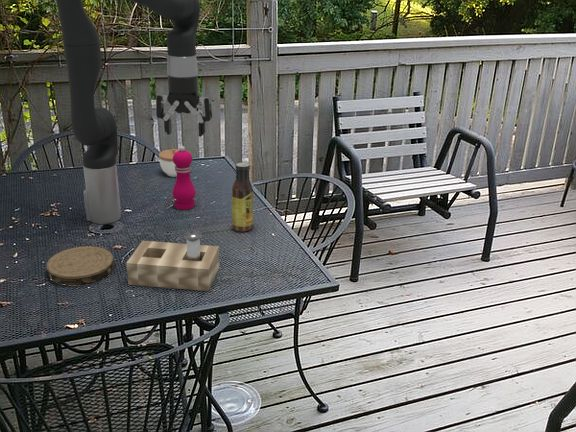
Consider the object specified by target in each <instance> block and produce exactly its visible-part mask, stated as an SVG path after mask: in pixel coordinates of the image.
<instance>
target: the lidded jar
mask: <svg viewBox="0 0 576 432" xmlns="http://www.w3.org/2000/svg"><path fill="white" fill-rule="evenodd" d="M177 151H180V150H179V148H172V149H165V150H162V151H160V152H159V153H158V158H159V164H160V165H159V166H160V168H161V170H162V172H163V173H165V174H166V176H168V177H172V178H177V173H176V171H175V166H176V165H175V164H174V163H173V155H174V154H175V153H176V152H177Z"/></svg>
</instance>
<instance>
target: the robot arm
mask: <svg viewBox="0 0 576 432" xmlns="http://www.w3.org/2000/svg"><path fill="white" fill-rule="evenodd" d="M55 1H56V7H57V10H58V18H59V23H60V28H61V35H62V44H63V51H64V57H65V63H66V69H67V78H68V86H69V94H70V95H69V96H70V97H69V98H70V114H71V115H70V118H71V126H72V127H71V128H72V133H73V134H74V137H75V139H76V140H77V141H78V142H79V143H80V144H81V145H83V146H88V148H87V150H86V151H85V152H84V153H83V155H82V160H81V161H82V168H83V175H84V181H85V182H84V183H85V189H84V190H83V192H82V193H83V199H84V208H85V209H84V210H85V217H86V221H87V222H88V221H89V222H91V223H94V224H98V225H105V224H112V223H114V222H117V221H119V220H120V219H122V209H121V199H120V189H119V187H120V186H119V181H118V180H119V179H118V167H117V156H118V153H119V151H118V150H119V148H118V147H119V145H118V126H117V123H116V122H117V121H116V119H115V116H114V115H113V113H112V112H111V110H109V109H107V108H106V107H102V106H100V107H96V105H95V92H96V87H97V83H98V79H99V76H100V73H101V69H102V62H103V61H102V52H101V51H102V50H101V41H100V38H99V34H98V32H97V31H98V30H97V29H96V27H95V25H94V24H93V22H92V20H91V19H90V17H89V16H88V14H87V12H86V10H85V7H84V5H83V2H82V0H55ZM129 1H130V2H132V3H135V4H137V5H140V6H141V7H144V8H149V10H151V11H153V12H154V13H155V14H157V15H159V16H160V17H161V18H162V17H163V18H164V19H166V20H169V21H173V28H172V29H171V30H169V31H168V33H167V35H166V45H167V46H166V49H167V60H166V61H167V63H166V66H167V67H166V68H167V72H166V73H167V84H168V85H167V87H168V91H167V92H168V94H167V95H166V94H164V93H159V94H158V95H157V96H156V102H155V103H156V111H155V113H156V118H157V119H161V120H163V125H164V127H163V128H164V132H165V133H166V135H169V136H170V135H171V134H172V133H173V132H172V131H173V130H172V127H173V126H172V119H171V117H172V116H173V115H174V113H175V112H176V113H177V114H182V113H184V114H190V113H191V114H192V115H193V117H194V118H196V119H197V121H198V123H197V125H198V126H197V127H198V137H199V138H200V137H203V136H204V135H205V133H206V122H210V121H211V120H212V119H213V110H212V99H211V96H209V95H208V96H206V97H200V94H199V79H198V78H199V77H198V75H199V74H198V73H199V69H198V61H197V50H196V49H197V47H196V46H197V44H196V36H197V32H198V26H199V22H200V21H199V19H200V14H201V13H200V11H201V9H200V7H201V6H200V0H129ZM166 101H167V102H168V103H169V105H170V106H171V107H170V108H169V110H168V111H167V112H166V113H165V112H164V109H165V108H164V107H165V106H164V105H165V103H167V102H166ZM200 103H201V105H202V106H203V107H204V114H203V113H202V111H201V109H200V107H199V106H198V105H199V104H200ZM95 107H96V108H95Z"/></svg>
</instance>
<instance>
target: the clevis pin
mask: <svg viewBox="0 0 576 432" xmlns="http://www.w3.org/2000/svg"><path fill="white" fill-rule="evenodd" d="M202 236H203V235H202V232H201V231H199V230H195V229H193V230H188V231H185V232H184V234H183V238H184V239H186V244H187V260H190V261H200V245H201V241H200V239H201V238H202Z"/></svg>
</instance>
